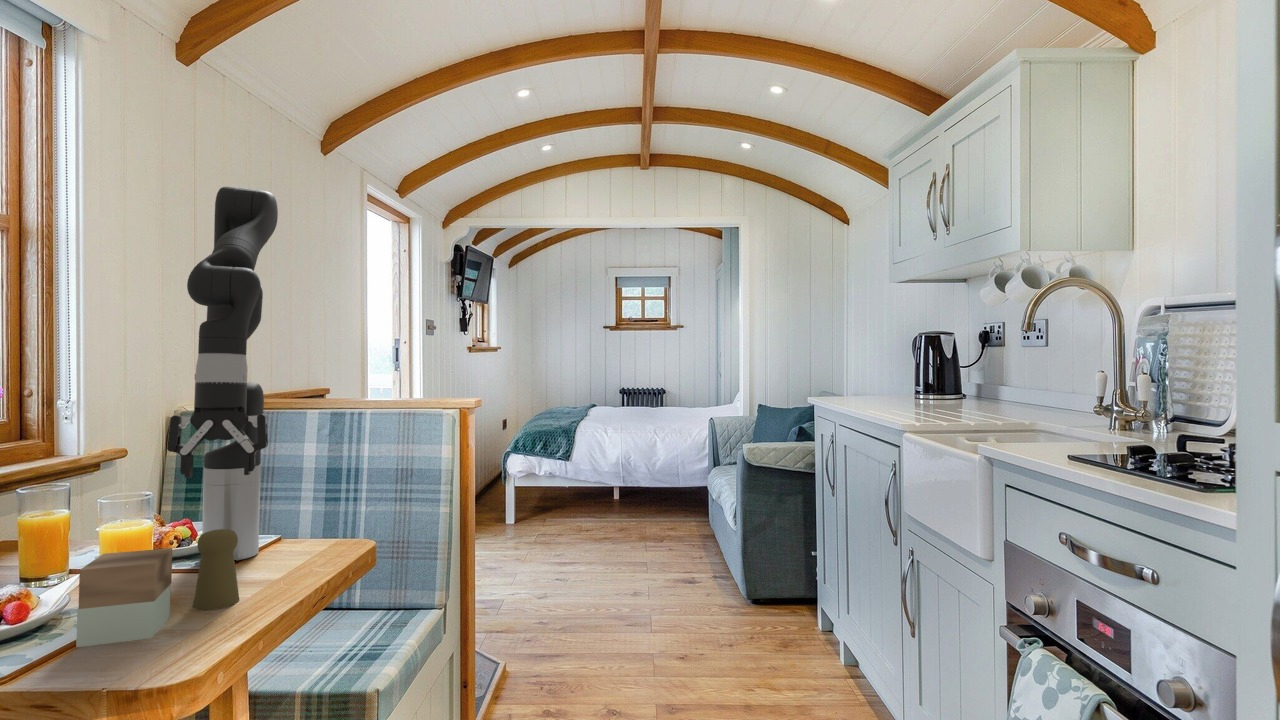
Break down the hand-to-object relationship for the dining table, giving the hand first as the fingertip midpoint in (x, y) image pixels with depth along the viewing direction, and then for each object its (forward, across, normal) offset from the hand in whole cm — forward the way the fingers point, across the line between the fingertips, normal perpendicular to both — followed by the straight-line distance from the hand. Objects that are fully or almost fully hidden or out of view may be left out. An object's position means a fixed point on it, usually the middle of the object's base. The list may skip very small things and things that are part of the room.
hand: (218, 476), depth 110 cm
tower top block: (+14, +6, +20) cm, 25 cm away
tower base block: (+19, +6, +20) cm, 28 cm away
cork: (+18, -3, +12) cm, 22 cm away
